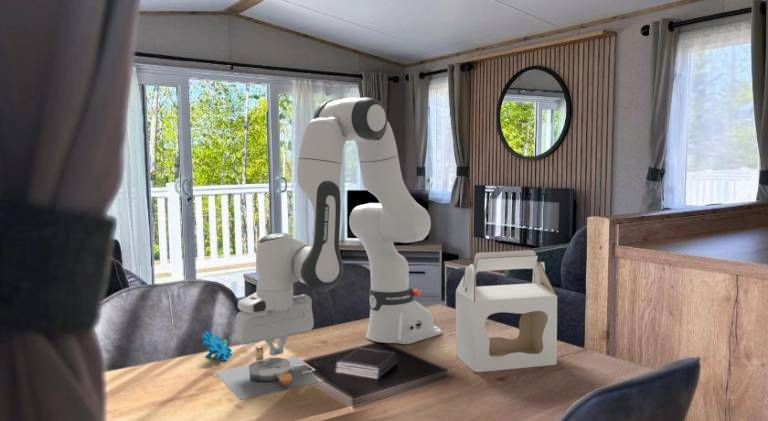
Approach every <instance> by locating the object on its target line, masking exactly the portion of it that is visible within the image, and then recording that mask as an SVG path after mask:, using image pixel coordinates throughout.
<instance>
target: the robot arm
mask: <svg viewBox="0 0 768 421" xmlns="http://www.w3.org/2000/svg"><path fill="white" fill-rule="evenodd" d="M387 114H388V113H387V111H386V108H385V106H384V105H383V104H382V102H381V101H380V100H378V99H376V98H374V97H373V98H372V97H368V96H367V97H366V96H365V97H344V98H342V99H341V98H340V99H337V100H336V99H335V100H334V99H333V100H327V101H325V102H323V103H321V104H320V105H319V106H318V107H317V108H316V110H315V112H314V115H313V118H312V119H311V120H309V122H308V123H307V124H306V126H305V128H304V132H303V135H302V139H301V142H300V146H299V152H298V158H297V168H296V176H297V185H298V187H299V188H300V190H301V191H302V192H303V193H304V194H305V196H307V198H308V200H309V201H310V203H311V206H312V208H313V227H312V230H313V231H312V244H310V243H306V242H303V241H300V240H298V239H297V238H294V237H292V236H291V235H289V234H288V233H286V232H277V233H270V234H267V235H265V236H262V237H261V238H260V239H259V240H258V242H257V246H256V253H255V254H256V255H255V271H256V275H257V283H256V291H255V292H254V293H252V294H250V295H248V296H246V297H243V298H242V299H240V300H239V301H238V302H237V309H238V310H239V312H238V313H236V318H235V325H234V327H235V328H234V337H235V339H236V341H237V342H238V343H240V344H242V345H247V344H251V343H256V342H260V341H261V342H262V341H264V342H265V343H266V345H267V346H268V348H269V355H270V356H271V357H272V356H276V355H281V354H284V347H285V345H286V344H287V343H286V342H287V341H288V336H289V335H294V334H295V335H296V334H299V333H305V332H309V331H311V330H312V329H313V327H314V325H315V323H314V322H315V321H314V314H313V310H312V306H313V303H312V302H313V300H312V297H311V296H310V295H308V294H300V295H294V284H295V283H297V282H301V283H303V284H306V285H307V286H308V287H309V288H311V289H312V290H314V291H317V292H326V291H328V290H331V289H333V288H334V287H335V286H337V284H338V283H339V282H340V280H341V279H342V276H343V273H344V263H343V262H344V261H343V258H342V255H341V248H340V234H341V233H340V230H341V210H342V209H341V207H342V206H341V205H342V204H341V200H342V199H341V176H342V175H341V173H342V165H343V154H344V152H343V151H344V150H343V149H344V146H345V144H346V142H347V141H348V142H349V141H350V142H351V141H354V142H355V143H356V148H357V155H358V161H359V168H360V173H361V175H360V176H361V180H362V184H363V188H364V189H365V190H366V191H368V192H369V193H370V194H372V195H373V196H374V197H375V198H376V199H377V200H378V202H368V203H364V204H360V205H357V206H355V207H354V208H352V211H351V212H350V215H349V219H348V220H349V222H348V224H349V228H350V231H351V233H352V234H353V235H354V236H355V237H356V238H357V239H358V240H359V241H360V243H361V244H362V246H363V249H364V250H365V253H366V254H367V258H368V262H369V271H370V288H369V296H368V297H369V298H368V299H369V308H370V309H369V320H368V327H367V331H366V334H365V338H366V339H367V340H369V341H372V342H376V343H385V344H402V345H410V344H414V343H416V342H420V341H422V340H426V339H430V338H433V337H437V336H440V335H442V330H441V328H440V327H438V326H436V325H434V319H433V314H432V313H431V312H430V311H429V309H427V308H425V307H424V306H423V305H422V304H420V303H419V302H418V301H416V300H415V298H414V296H415V297H420V296H421V294H422V292H421V290H420V289H417V288H414V289H412V288H410V286H409V285H410V284H409V282H410V280H409V278H410V276H409V273H410V272H409V270H410V269H409V262H408V260H407V259H406V257H404V256H403V255H402V254H400V253H399V252H398V250H397V249H396V246H395V244H394V243H404V244H405V243H407V244H408V243H413V242H414V243H415V242H419V241H423V240H424V239H425V238H426V237H427V236H428V235H429V233H430V230H431V226H432V224H431V222H432V221H431V216H430V214H429V212H428V210H427V209H426V208H425V207H423V206H422V205H421V204H420V203H418V202H417V201H416V200H415V198H414V197H413V196H412V195H411V194H410V192H409V190H408V188H407V186H406V184H405V182H404V179H403V174H402V170H401V166H400V165H401V164H400V158H399V153H398V152H399V151H398V148H397V147H398V146H397V143H396V139H395V134H394V131H393V129H392V127H391V124H390V123H389V121H388V115H387ZM275 338H278V339H279V341H278V343H277V345H275V346H274V344H273V343H274V342H275Z"/></svg>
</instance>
